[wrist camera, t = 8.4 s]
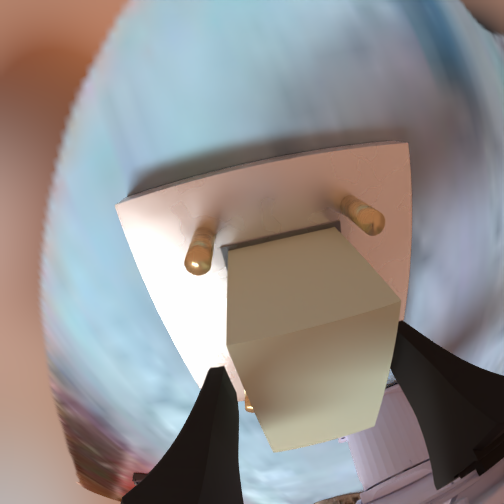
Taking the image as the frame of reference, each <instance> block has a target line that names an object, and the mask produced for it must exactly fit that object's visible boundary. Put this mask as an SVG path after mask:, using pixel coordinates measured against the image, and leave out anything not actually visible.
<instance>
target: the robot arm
mask: <svg viewBox="0 0 504 504" xmlns="http://www.w3.org/2000/svg"><path fill="white" fill-rule="evenodd" d="M390 368H391V370H392V373H393V375H394V377H395V378H396V380H397V382H398V384H397V385H394V386H392V387H389V388H386V389H385V391H384V395H383V399H382V403H381V406H380V410H379V413H378V416H377V420H376V423H375V426H374V427H371V428H368V429H365V430H363V431H360V432H357V433H353V434H350V435H347V436H344V437H340V438H338V442H339V443H343V442H346V441H347V442H348V445H349V448H350V451H351V455H352V458H353V461H354V465H355V468H356V471H357V475H358V478H359V480H360V482H361V483H362V485H363V489H364V492H363V493H360V497H361V499H360V500H358V501H357V502H356V504H504V376H503V375H499V374H496V373H493V372H490V371H487V370H485V369H482V368H479V367H477V366H475V365H473V364H471V363H468V362H466V361H464V360H462V359H460V358H459V357H457V356H455V355H453V354H452V353H450V352H448V351H447V350H445V349H443V348H442V347H440V346H439V345H437V344H436V343H434V342H433V341H431V340H430V339H428V338H427V337H425V336H424V335H422V334H421V333H419V332H418V331H417V330H415V329H414V328H412V327H411V326H410V325H408V324H407V323H405V322H404V321H402V320H401V321H399V322H398V329H397V335H396V341H395V346H394V352H393V357H392V362H391V366H390ZM238 441H239V410H238V400H237V393H236V391H235V388H234V386H233V384H232V382H231V380H230V378H229V376H228V373H227V371H226V369H225V367H224V366H220V367H213V368H210V369H209V370H208V372H207V375H206V378H205V381H204V383H203V386H202V388H201V391H200V393H199V395H198V398H197V400H196V402H195V404H194V406H193V409H192V411H191V413H190V415H189V417H188V418H187V420H186V422H185V424H184V426H183V428H182V430H181V431H180V433H179V435H178V436H177V438H176V439H175V441H174V442H173V444H172V445H171V447H170V448H169V450H168V451H167V452H166V454H165V455H164V456H163V458H162V459H161V460H160V461H159V462H158V464H157V465H156V466H155V467H154V468H153V469H152V470H151V471H150V472H149V473H148V475H147V476H146V477H145V478H144V479H143V480H142V481H141V482H140V483H138V484H137V485H136V486H135V487H134V488H133V489H132V490H130V491H129V492H128V493H127V494H126V495H124V496H123V497H122V501H121V504H244V503H243V497H242V490H241V482H240V473H239V463H238Z"/></svg>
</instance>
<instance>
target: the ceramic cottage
mask: <svg viewBox="0 0 504 504" xmlns="http://www.w3.org/2000/svg"><path fill="white" fill-rule="evenodd" d="M362 493H363V492H362ZM360 499H361V497H360V493H355V494H349V495H342V496H337V497H334V498H331V499H328V500H327V499H326V500H322V501H319V502H316V503H314V504H356V502H357V501H358V500H360Z"/></svg>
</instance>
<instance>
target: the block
mask: <svg viewBox="0 0 504 504" xmlns="http://www.w3.org/2000/svg"><path fill="white" fill-rule="evenodd" d="M400 308H401V300H400V298H399V297H398V296H397V295H396V294H395V292H394V291H393V290H392V289H391V288H390V287H389V285H388V284H387V283H386V282H385V281H384V280H383V278H382V277H381V276H380V275H379V274H378V273H377V272H376V271H375V269H374V268H373V267H372V266H371V265H370V264H369V263H368V262H367V261H366V259H365V258H364V257H363V256H362V255H361V254H360V253H359V252H358V251H357V250H356V249H355V248H354V246H353V245H352V244H351V243H350V242H349V241H348V240H347V239H346V238H345V237H344V236H343V235H342V234H341V233H340V232H339V231H338V230H337V229H336V228H335V227H332V228H328V229H323V230H319V231H314V232H310V233H305V234H301V235H296V236H292V237H287V238H283V239H279V240H274V241H270V242H265V243H261V244H257V245H252V246H248V247H243V248H239V249H235V250H230V251H228V272H227V318H226V347H227V349H228V351H229V354H230V356H231V359H232V361H233V364H234V366H235V369H236V371H237V373H238V376H239V378H240V380H241V383H242V385H243V387H244V390H245V392H246V394H247V396H248V399H249V401H250V403H251V405H252V408H253V410H254V412H255V414H256V416H257V419H258V421H259V423H260V425H261V427H262V429H263V432H264V434H265V436H266V438H267V440H268V442H269V444H270V446H271V448H272V450H273V452H274V453H275V452H281V451H286V450H291V449H296V448H301V447H306V446H310V445H314V444H318V443H322V442H326V441H330V440H333V439H337V438H340V437H344V436H347V435H350V434H353V433H357V432H360V431H363V430H365V429H368V428H371V427H374V426H375V423H376V420H377V416H378V413H379V410H380V406H381V403H382V399H383V395H384V391H385V388H386V384H387V379H388V375H389V371H390V366H391V362H392V357H393V352H394V346H395V341H396V335H397V329H398V322H399V315H400Z"/></svg>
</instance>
